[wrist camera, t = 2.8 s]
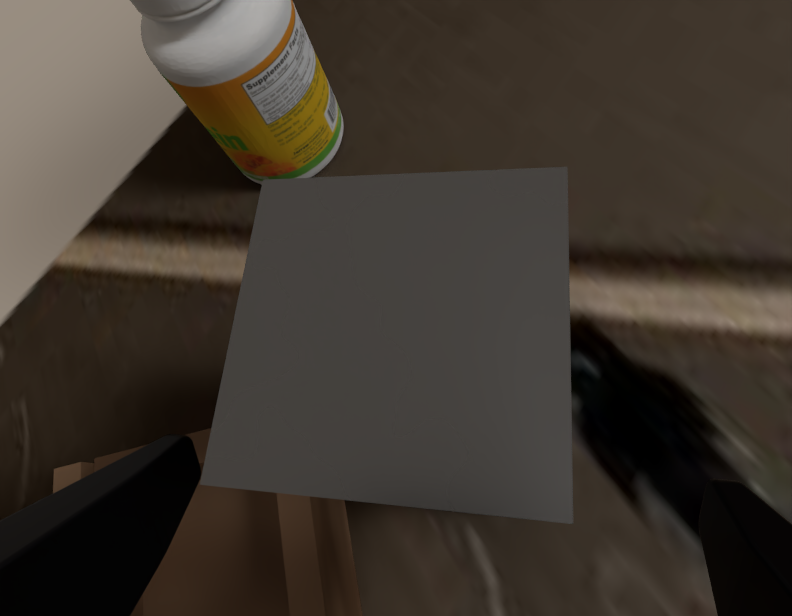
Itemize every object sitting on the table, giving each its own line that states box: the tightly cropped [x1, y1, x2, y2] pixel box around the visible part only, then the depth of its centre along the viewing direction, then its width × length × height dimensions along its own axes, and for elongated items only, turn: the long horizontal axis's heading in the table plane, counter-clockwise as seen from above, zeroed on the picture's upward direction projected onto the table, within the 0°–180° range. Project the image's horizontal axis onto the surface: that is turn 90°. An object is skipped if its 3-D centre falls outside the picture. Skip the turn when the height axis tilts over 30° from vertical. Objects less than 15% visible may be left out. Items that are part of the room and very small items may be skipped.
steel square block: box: [200, 167, 573, 524], centre depth 12 cm, size 4×4×12 cm
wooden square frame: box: [53, 428, 363, 616], centre depth 17 cm, size 9×9×4 cm
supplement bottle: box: [130, 0, 343, 185], centre depth 20 cm, size 5×5×10 cm
